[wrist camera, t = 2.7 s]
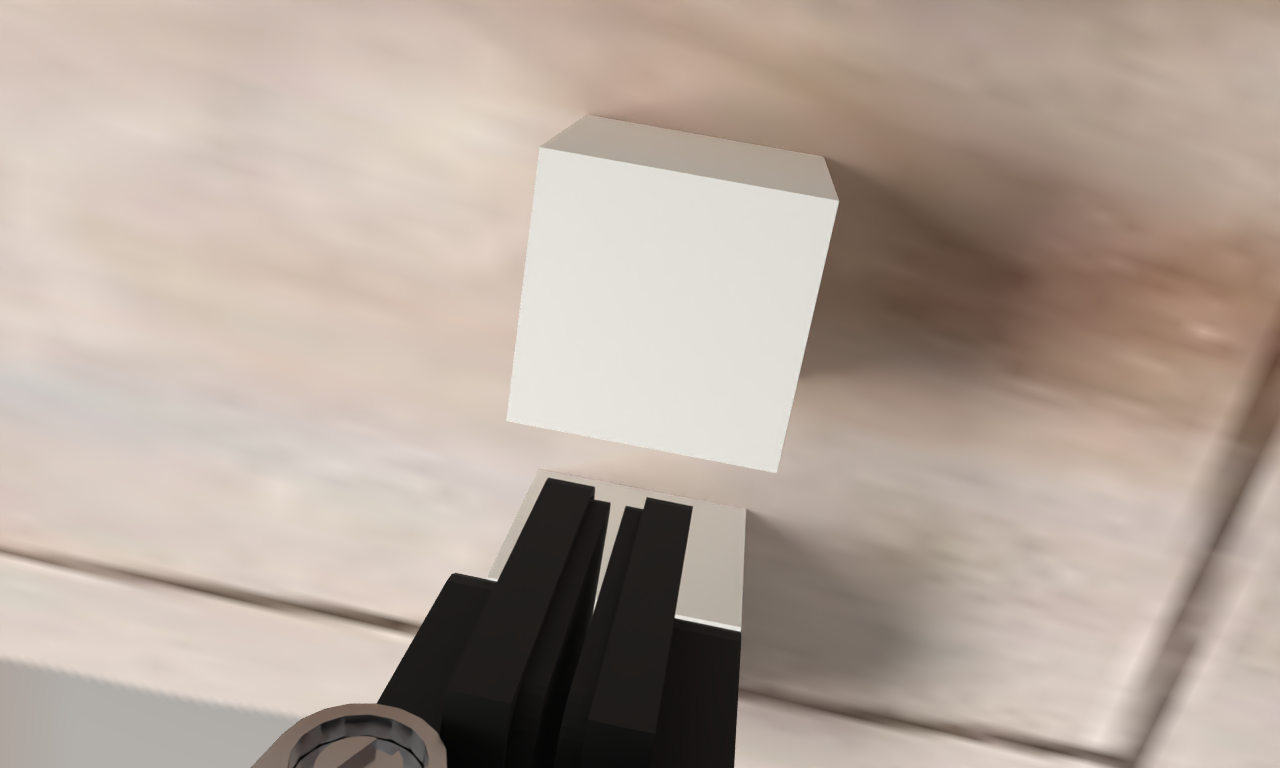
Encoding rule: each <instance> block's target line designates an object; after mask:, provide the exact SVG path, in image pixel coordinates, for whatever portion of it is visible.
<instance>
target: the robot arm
mask: <svg viewBox="0 0 1280 768" xmlns="http://www.w3.org/2000/svg"><path fill="white" fill-rule="evenodd" d="M594 498H595V487H594V486H589V485H584V484H579V483H574V482H569V481H564V480H559V479H554V478H549V477H548V478H547V480H546V482H545V484H544V486H543V488H542V490H541V492H540V494H539V496H538V498H537V500H536V502H535V504H534V506H533V508H532V511H531V513H530V515H529V517H528V519H527V521H526V523H525V525H524V527H523V529H522V531H521V533H520V535H519V537H518V539H517V541H516V544H515V546H514V548H513V550H512V552H511V554H510V556H509V558H508V560H507V562H506V564H505V566H504V568H503V570H502V572H501V574H500V577H499V579H498V581H492V580H487V579H482V578H478V577H473V576H468V575H463V574H458V573H454V574H452V575H451V576H450V577H449V579H448V580H447V582H446V583H445V585H444V587H443V589H442V590H441V592H440V594H439V596H438V597H437V599H436V601H435V603H434V604H433V606H432V608H431V610H430V611H429V613H428V615H427V617H426V618H425V620H424V622H423V624H422V625H421V627H420V629H419V631H418V632H417V634H416V636H415V637H414V639H413V641H412V643H411V644H410V646H409V648H408V650H407V651H406V653H405V655H404V657H403V658H402V660H401V662H400V664H399V665H398V667H397V669H396V671H395V672H394V674H393V676H392V678H391V679H390V681H389V683H388V685H387V686H386V688H385V690H384V692H383V693H382V695H381V697H380V699H379V700H378V702H377V704H346V705H341V706H336V707H331V708H327V709H323V710H321V711H319V712H316V713H314V714H312V715H310V716H307V717H305V718H303V719H301V720H300V721H298V722H297V723H296V724H294V725H293V726H292V727H291V728H289V729H288V730H287V731H286V732H284V733H283V734H282V735H281V736H280V737H279V738H278V739H277V740H276V742H274V743H273V745H272V746H271V747H270V748H269V749H268V750H267V751H266V752H265V753H264V754H263V755H262V756H261V757H260V758H259V759H258V760H257V761H256V763H255V764H254V765H253V766H252V767H251V768H734V758H735V740H736V722H737V705H738V687H739V669H740V651H741V633H740V631H735V630H730V629H725V628H720V627H716V626H711V625H706V624H701V623H696V622H691V621H686V620H682V619H677V618H675V612H676V606H677V600H678V594H679V588H680V582H681V576H682V570H683V564H684V558H685V552H686V546H687V540H688V534H689V528H690V522H691V516H692V510H693V506H689V505H684V504H679V503H674V502H669V501H664V500H659V499H654V498H649V497H647V498H646V501H645V505H644V509H640V508H635V507H630V506H626V507H625V509H624V513H623V516H622V519H621V523H620V526H619V529H618V533H617V536H616V539H615V543H614V546H613V549H612V553H611V556H610V559H609V563H608V566H607V569H606V572H605V576H604V579H603V582H602V586H601V589H600V592H599V596H598V599H597V602H596V606H595V609H594V604H595V598H596V592H597V586H598V580H599V574H600V568H601V562H602V556H603V550H604V544H605V538H606V532H607V526H608V520H609V514H610V506H611V503H610V502H605V501H600V500H595V499H594ZM593 611H594V612H593Z"/></svg>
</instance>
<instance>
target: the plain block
mask: <svg viewBox="0 0 1280 768" xmlns="http://www.w3.org/2000/svg"><path fill="white" fill-rule="evenodd" d="M838 204H839V199H838V196H837V193H836V190H835V188H834V185H833V182H832V179H831V176H830V173H829V170H828V167H827V165H826V162H825V159H824V157H823V156H818V155H812V154H806V153H801V152H795V151H790V150H784V149H778V148H773V147H767V146H761V145H756V144H750V143H745V142H739V141H733V140H728V139H722V138H716V137H711V136H705V135H700V134H694V133H688V132H683V131H677V130H671V129H666V128H660V127H655V126H649V125H643V124H638V123H632V122H626V121H621V120H615V119H610V118H604V117H598V116H593V115H586V116H584V117H583V118H581V119H580V120H578V121H577V122H576V123H574V124H573V125H571V126H570V127H568V128H567V129H565V130H564V131H562V132H561V133H559V134H558V135H557V136H555V137H554V138H552V139H551V140H549V141H548V142H546V143H545V144H543V145H542V146H540V148H539V156H538V164H537V172H536V181H535V189H534V197H533V205H532V214H531V222H530V230H529V238H528V246H527V255H526V263H525V271H524V279H523V288H522V296H521V304H520V312H519V320H518V329H517V337H516V345H515V353H514V361H513V370H512V378H511V386H510V394H509V403H508V411H507V419H506V421H509V422H514V423H519V424H525V425H530V426H535V427H540V428H545V429H550V430H556V431H561V432H566V433H571V434H576V435H582V436H587V437H592V438H597V439H602V440H607V441H613V442H618V443H623V444H628V445H633V446H638V447H644V448H649V449H654V450H659V451H664V452H670V453H675V454H680V455H685V456H690V457H695V458H701V459H706V460H711V461H716V462H721V463H727V464H732V465H737V466H742V467H747V468H752V469H758V470H763V471H768V472H773V473H777V469H778V465H779V460H780V456H781V452H782V447H783V443H784V439H785V434H786V430H787V426H788V421H789V417H790V413H791V408H792V404H793V400H794V395H795V391H796V386H797V382H798V378H799V373H800V369H801V365H802V360H803V356H804V352H805V347H806V343H807V339H808V334H809V330H810V326H811V321H812V317H813V313H814V308H815V304H816V299H817V295H818V291H819V286H820V282H821V278H822V273H823V269H824V265H825V260H826V256H827V252H828V247H829V243H830V239H831V234H832V230H833V226H834V221H835V217H836V212H837V208H838Z"/></svg>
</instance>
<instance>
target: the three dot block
mask: <svg viewBox="0 0 1280 768" xmlns="http://www.w3.org/2000/svg"><path fill="white" fill-rule="evenodd" d="M548 477H549V478H554V479H559V480H564V481H569V482H574V483H579V484H584V485H589V486H594V487H595V498H594V499H595V500H600V501H605V502H610V503H611V506H610V514H609V520H608V526H607V532H606V538H605V544H604V550H603V556H602V562H601V568H600V574H599V580H598V586H597V592H596V598H595V604H594V609H595V606H596V602H597V599H598V596H599V592H600V589H601V586H602V582H603V579H604V576H605V572H606V569H607V566H608V563H609V559H610V556H611V553H612V549H613V546H614V543H615V539H616V536H617V533H618V529H619V526H620V523H621V519H622V516H623V513H624V509H625V507H626V506H630V507H635V508H640V509H644V505H645V501H646V498H647V497H649V498H654V499H659V500H664V501H669V502H674V503H679V504H684V505H689V506H693V510H692V516H691V522H690V528H689V534H688V540H687V546H686V552H685V558H684V564H683V570H682V576H681V582H680V588H679V594H678V600H677V606H676V612H675V618H677V619H682V620H686V621H691V622H696V623H701V624H706V625H711V626H716V627H720V628H725V629H730V630H735V631H741V625H742V600H743V575H744V549H745V524H746V509H744V508H739V507H733V506H728V505H723V504H718V503H713V502H707V501H702V500H697V499H692V498H686V497H681V496H676V495H671V494H666V493H660V492H655V491H650V490H645V489H640V488H634V487H629V486H624V485H619V484H613V483H608V482H603V481H598V480H593V479H587V478H582V477H577V476H572V475H567V474H561V473H556V472H551V471H546V470H540V469H539V470H538V472H537V474H536V476H535V478H534V480H533V483H532V485H531V487H530V489H529V491H528V493H527V495H526V497H525V499H524V501H523V503H522V506H521V508H520V510H519V512H518V514H517V516H516V518H515V520H514V522H513V524H512V527H511V529H510V531H509V533H508V535H507V537H506V539H505V541H504V543H503V545H502V548H501V550H500V552H499V554H498V556H497V558H496V560H495V562H494V564H493V566H492V568H491V571H490V573H489V575H488V577H487V580H492V581H498V579H499V577H500V574H501V572H502V570H503V568H504V566H505V564H506V562H507V560H508V558H509V556H510V554H511V552H512V550H513V548H514V546H515V544H516V541H517V539H518V537H519V535H520V533H521V531H522V529H523V527H524V525H525V523H526V521H527V519H528V517H529V515H530V513H531V511H532V508H533V506H534V504H535V502H536V500H537V498H538V496H539V494H540V492H541V490H542V488H543V486H544V484H545V482H546V480H547V478H548ZM593 612H594V611H593Z"/></svg>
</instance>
